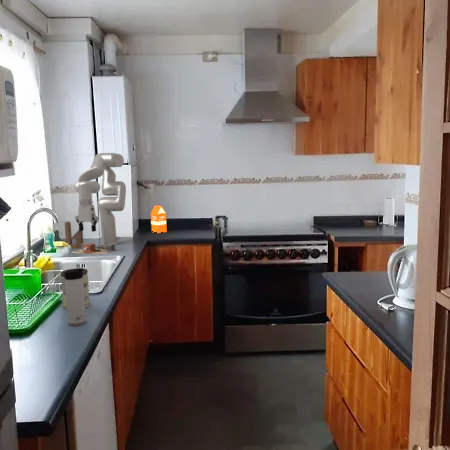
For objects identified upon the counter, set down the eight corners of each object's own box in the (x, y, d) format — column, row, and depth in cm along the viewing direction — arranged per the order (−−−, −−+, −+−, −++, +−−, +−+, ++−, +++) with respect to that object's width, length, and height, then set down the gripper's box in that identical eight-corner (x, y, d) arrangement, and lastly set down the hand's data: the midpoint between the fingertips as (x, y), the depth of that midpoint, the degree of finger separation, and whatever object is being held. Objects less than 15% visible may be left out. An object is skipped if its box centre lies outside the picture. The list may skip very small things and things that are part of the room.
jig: (90, 249, 332) (89, 240, 332) (119, 250, 322) (118, 242, 321) (70, 254, 316) (69, 245, 316) (100, 256, 306) (99, 247, 305)
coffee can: (67, 302, 212) (64, 268, 210) (92, 301, 212) (90, 267, 210) (60, 310, 202) (57, 274, 200) (86, 309, 202) (84, 273, 200)
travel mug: (82, 326, 181) (78, 270, 179) (65, 326, 183) (60, 270, 180) (90, 320, 187) (86, 266, 185) (73, 320, 189) (68, 266, 186)
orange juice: (158, 233, 388) (156, 206, 385) (151, 232, 395) (150, 205, 392) (166, 231, 393) (165, 205, 391) (160, 230, 400) (158, 204, 397)
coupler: (81, 253, 312) (81, 245, 312) (90, 250, 319) (90, 242, 319) (88, 253, 310) (87, 245, 309) (97, 251, 317) (96, 243, 316)
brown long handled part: (82, 250, 330) (80, 222, 327) (65, 250, 330) (63, 222, 328) (84, 249, 333) (81, 221, 331) (67, 249, 334) (65, 221, 331)
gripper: (101, 202, 310) (103, 230, 312) (79, 202, 318) (80, 229, 320) (92, 203, 303) (94, 232, 305) (70, 203, 311) (72, 231, 313)
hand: (87, 231), depth 312 cm, fingers open, 9 cm apart
